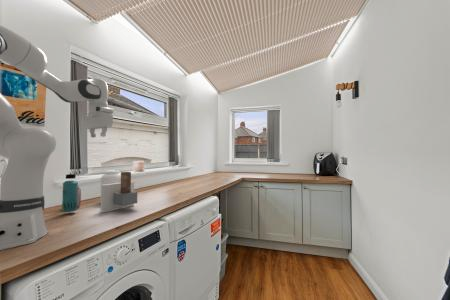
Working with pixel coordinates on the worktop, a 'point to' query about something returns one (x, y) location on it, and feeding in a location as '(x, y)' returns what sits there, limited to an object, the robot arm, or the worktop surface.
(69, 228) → the worktop surface
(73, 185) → the beverage bottle
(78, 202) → the soda can
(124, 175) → the walnut rail
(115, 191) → the white grey blocky piece
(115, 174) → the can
